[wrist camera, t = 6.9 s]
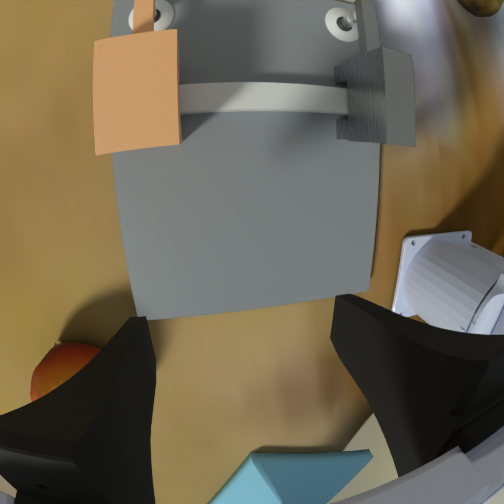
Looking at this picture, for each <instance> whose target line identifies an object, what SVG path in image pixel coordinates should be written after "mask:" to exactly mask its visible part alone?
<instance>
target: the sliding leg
mask: <svg viewBox="0 0 504 504" xmlns="http://www.w3.org/2000/svg"><path fill="white" fill-rule="evenodd" d="M156 15H157V12H156V8H155V0H135V1H134V14H133V31H132V34H130V35H124V36H118V37H113V38H107V39H102V40H98V41H94V61H93V118H94V139H95V153H96V155H101V154H107V153H113V152H120V151H127V150H135V149H142V148H151V147H159V146H169V145H179V144H182V130H181V120H180V88H179V81H180V60H179V47H178V34H177V29H170V30H160V31H154V18H155V17H156Z"/></svg>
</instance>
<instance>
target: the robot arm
mask: <svg viewBox="0 0 504 504" xmlns="http://www.w3.org/2000/svg"><path fill="white" fill-rule="evenodd" d="M471 238H472V232H471V231H468V230H466V231H456V232H446V233H436V234H426V235H416V236H407V237H405V238H404V240H403V244H402V251H401V258H400V265H399V271H398V278H397V283H396V289H395V294H394V300H393V305H392V310H391V311H390V310H388V309H386V308H383V307H381V306H379V305H377V304H374V303H372V302H370V301H368V300H365V299H363V298H361V297H358V296H355V295H352V294H343V295H336V297H335V305H334V313H333V321H332V329H331V336H330V339H331V341H332V343H333V345H334V348H335V350H336V352H337V354H338V356H339V358H340V360H341V361H342V363H343V364H344V366H345V367H346V369H347V370H348V372H349V373H350V375H351V376H352V378H353V379H354V381H355V382H356V384H357V385H358V387H359V388H360V390H361V391H362V393H363V394H364V396H365V397H366V399H367V401H368V402H369V404H370V406H371V408H372V410H373V412H374V414H375V416H376V418H377V420H378V423H379V425H380V427H381V430H382V432H383V434H384V437H385V439H386V442H387V444H388V447H389V449H390V452H391V455H392V457H393V461H394V464H395V467H396V470H397V474H398V477H399V478H397V479H395V480H392V481H390V482H388V483H386V484H383V485H381V486H379V487H376V488H374V489H371V490H369V491H366V492H363V493H361V494H358V495H355V496H352V497H350V498H347V499H344V500H341V501H338V502H335V503H332V504H484V503H486V502H487V501H488V500H489V499H490V498H491V497H493V496H494V495H495V494H496V493H497V492H499V491H500V490H501V489H502V488H503V487H504V258H503V257H501V256H499V255H497V254H495V253H493V252H491V251H489V250H487V249H485V248H483V247H481V246H479V245H477V244H475V243H473V242H471ZM412 241H413V243H412ZM413 315H418V316H420V317H421V318H422V319H423V320H424V321H425V322H427V323H428V324H429V325H428V324H425V323H422V322H419V321H416V320H413V319H410V318H408V317H409V316H413ZM155 388H156V358H155V354H154V349H153V345H152V341H151V337H150V332H149V328H148V323H147V318H146V316H142V317H130V318H129V319H128V320H127V321H126V322H125V324H124V325H123V326H122V327H121V328H120V329H119V331H118V332H117V333H116V334H115V335H114V336H113V337H112V338H111V340H110V341H109V342H108V343H107V344H106V345H105V346H104V347H103V348H102V349H101V350H100V351H99V352H98V353H97V354H96V355H95V356H94V357H93V358H92V359H91V360H90V362H88V363H87V364H86V365H85V366H84V367H83V368H82V369H81V370H79V371H78V372H77V373H76V374H75V375H73V376H72V377H71V378H69V379H68V380H67V381H65V382H64V383H62V384H61V385H59V386H58V387H56V388H55V389H54V390H52V391H51V392H49V393H47V394H46V395H44V396H42V397H40V398H39V399H37V400H35V401H33V402H31V403H29V404H27V405H25V406H23V407H20V408H18V409H15V410H13V411H10V412H8V413H5V414H3V415H0V475H1V476H2V477H3V478H5V480H6V481H7V482H8V483H10V484H11V485H12V486H13V487H14V488H15V489H16V490H17V493H16V498H14V497H12V496H10V495H9V494H6V493H4V492H2V491H0V504H155V496H154V488H153V478H152V465H151V444H150V438H151V424H152V414H153V405H154V397H155Z"/></svg>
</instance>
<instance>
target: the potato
mask: <svg viewBox="0 0 504 504" xmlns="http://www.w3.org/2000/svg"><path fill="white" fill-rule="evenodd" d="M458 1H459V2H460V3H461V5H462V6H463V7H464V8H465V9H467V10H468V11H469V12H470V13H472V14H473V15H475V16H477V17H478V16H479V17H486V16H488V17H489V16H491V15H494V14H496V13H497V12H498V11H499V9H500V8H501V6H502V4H503V2H504V0H458Z"/></svg>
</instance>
